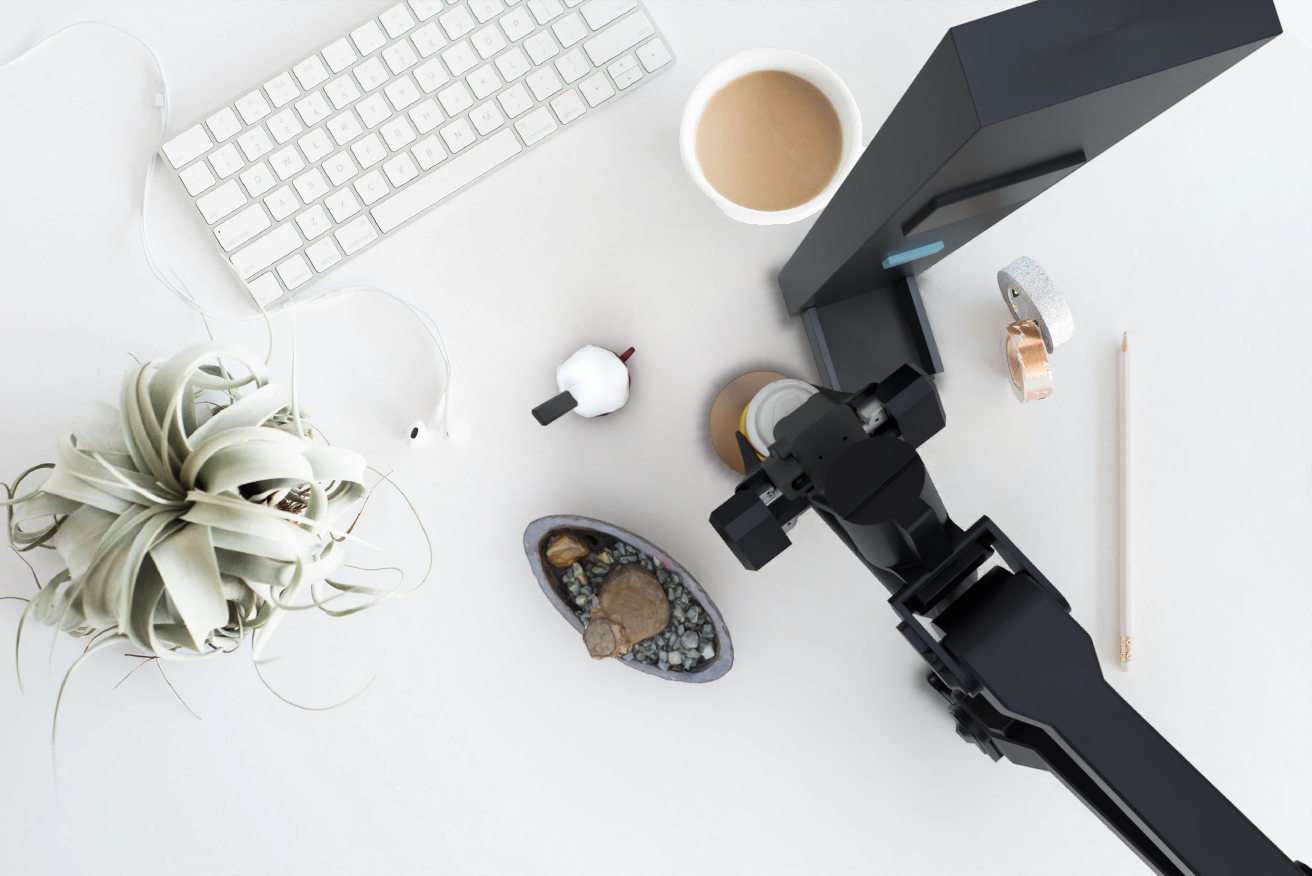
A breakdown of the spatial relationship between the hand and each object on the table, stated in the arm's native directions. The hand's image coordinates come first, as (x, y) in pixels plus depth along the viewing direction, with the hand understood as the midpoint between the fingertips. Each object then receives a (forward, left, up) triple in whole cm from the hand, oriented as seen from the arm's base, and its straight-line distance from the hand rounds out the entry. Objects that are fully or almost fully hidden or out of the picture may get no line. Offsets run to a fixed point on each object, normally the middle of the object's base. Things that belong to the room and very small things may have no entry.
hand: (769, 409), depth 67 cm
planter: (-19, -2, -10) cm, 22 cm away
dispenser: (+13, -2, -10) cm, 16 cm away
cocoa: (-8, +13, -10) cm, 18 cm away
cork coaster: (0, -1, -10) cm, 10 cm away
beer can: (0, -2, -7) cm, 8 cm away
